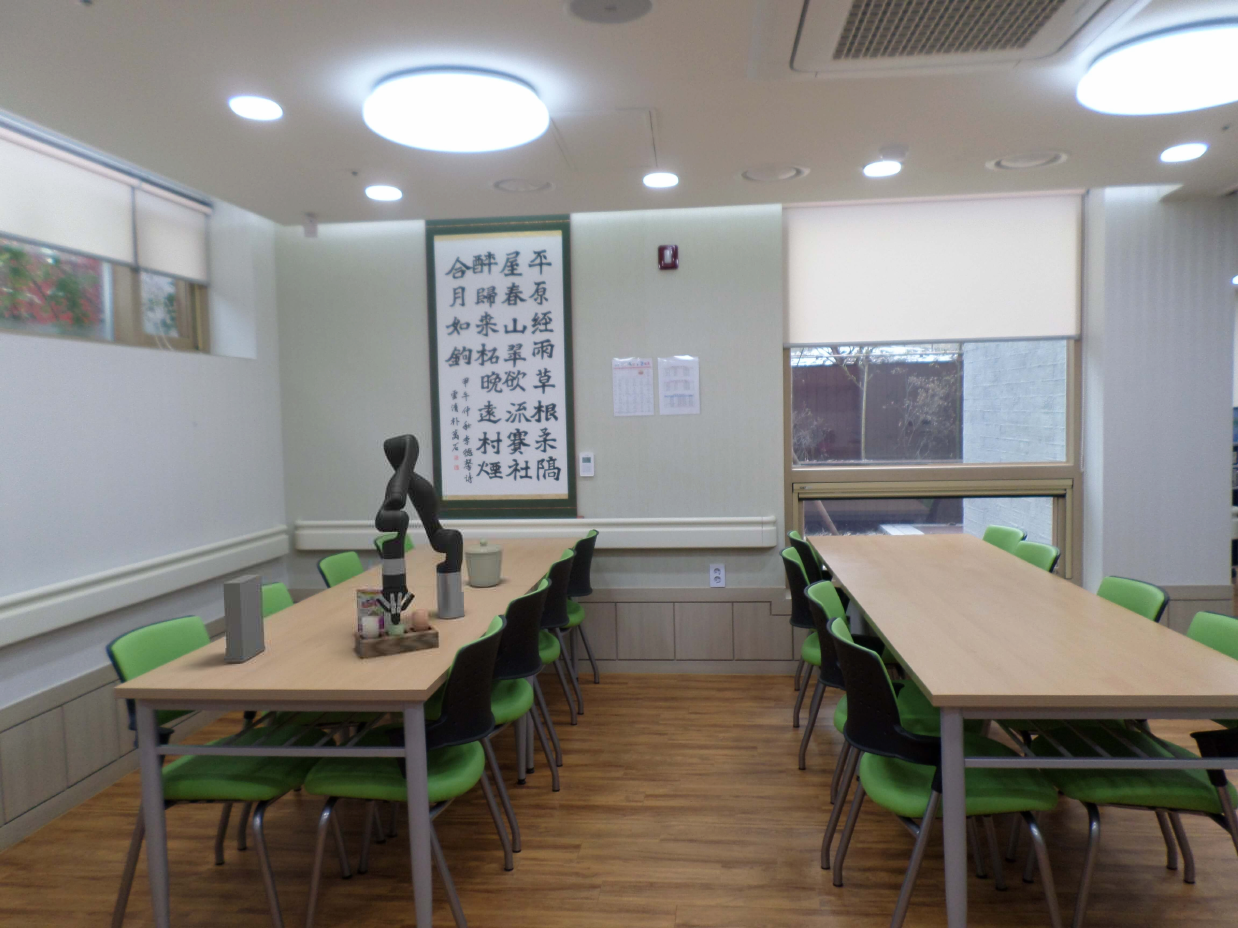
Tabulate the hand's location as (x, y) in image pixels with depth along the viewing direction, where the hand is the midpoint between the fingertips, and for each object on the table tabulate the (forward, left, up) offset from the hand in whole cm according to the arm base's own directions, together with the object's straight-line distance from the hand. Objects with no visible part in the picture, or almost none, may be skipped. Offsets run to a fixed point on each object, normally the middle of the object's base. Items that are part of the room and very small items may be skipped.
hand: (395, 624), depth 253 cm
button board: (0, 0, -8) cm, 8 cm away
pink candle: (-8, 0, -4) cm, 9 cm away
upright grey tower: (+44, -16, -8) cm, 47 cm away
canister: (-57, -81, -8) cm, 99 cm away
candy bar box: (+3, -20, -8) cm, 22 cm away
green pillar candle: (0, 0, -7) cm, 7 cm away
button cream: (+8, 0, -4) cm, 9 cm away
